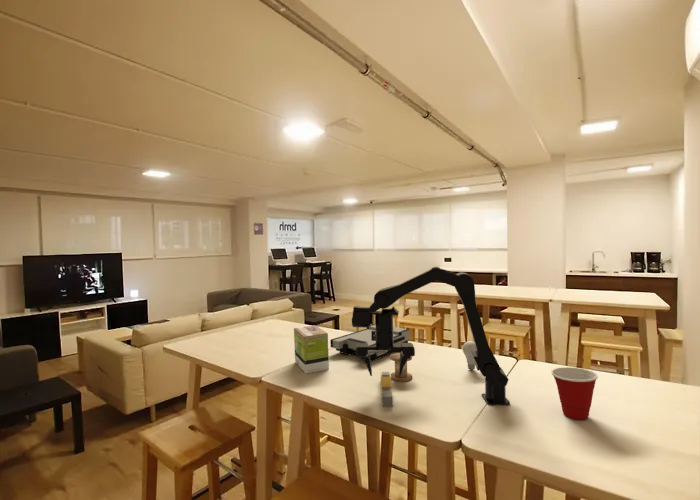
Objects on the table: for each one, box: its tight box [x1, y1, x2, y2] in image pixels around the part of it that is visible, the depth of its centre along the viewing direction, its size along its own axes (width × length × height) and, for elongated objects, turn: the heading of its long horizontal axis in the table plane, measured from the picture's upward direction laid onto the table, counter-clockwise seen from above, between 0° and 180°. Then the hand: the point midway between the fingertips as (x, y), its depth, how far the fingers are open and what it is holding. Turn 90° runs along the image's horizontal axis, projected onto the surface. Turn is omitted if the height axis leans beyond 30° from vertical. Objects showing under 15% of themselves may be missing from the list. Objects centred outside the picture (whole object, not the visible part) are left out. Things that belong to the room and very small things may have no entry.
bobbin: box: [389, 352, 413, 383], centre depth 124 cm, size 8×8×8 cm
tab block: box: [380, 371, 392, 396], centre depth 111 cm, size 4×3×6 cm
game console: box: [330, 323, 411, 362], centre depth 157 cm, size 21×32×8 cm, turn 137°
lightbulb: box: [462, 340, 476, 371], centre depth 129 cm, size 6×6×11 cm
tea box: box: [293, 324, 330, 374], centre depth 138 cm, size 15×10×15 cm, turn 25°
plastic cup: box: [550, 366, 599, 421], centre depth 94 cm, size 11×11×12 cm
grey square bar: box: [381, 386, 394, 408], centre depth 111 cm, size 19×3×3 cm, turn 177°
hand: (385, 375), depth 111 cm, fingers open, 9 cm apart
